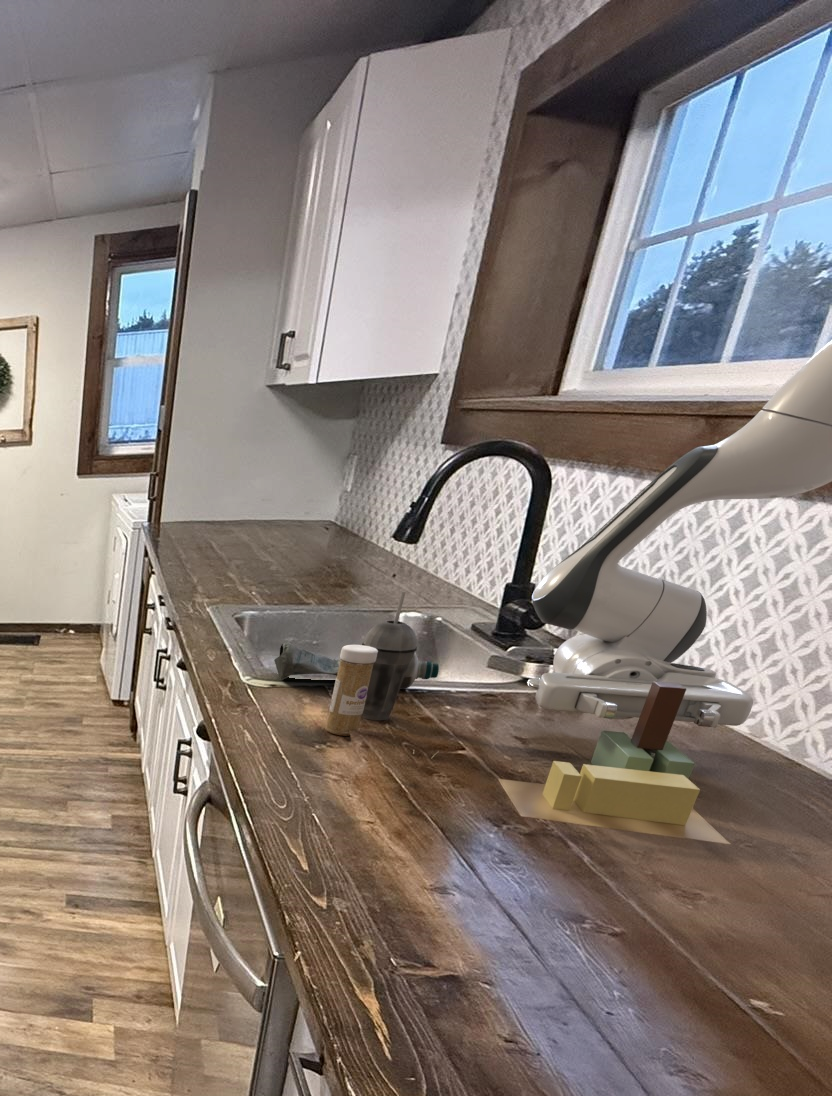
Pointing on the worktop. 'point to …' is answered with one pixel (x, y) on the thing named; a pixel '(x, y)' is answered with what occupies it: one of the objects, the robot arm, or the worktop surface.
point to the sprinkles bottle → (350, 688)
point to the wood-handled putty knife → (658, 716)
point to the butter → (636, 794)
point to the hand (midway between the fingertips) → (658, 716)
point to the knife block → (639, 756)
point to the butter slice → (561, 785)
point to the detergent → (311, 663)
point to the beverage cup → (388, 664)
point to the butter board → (536, 806)
